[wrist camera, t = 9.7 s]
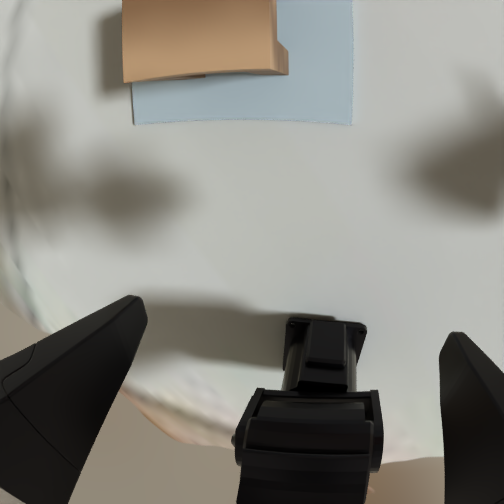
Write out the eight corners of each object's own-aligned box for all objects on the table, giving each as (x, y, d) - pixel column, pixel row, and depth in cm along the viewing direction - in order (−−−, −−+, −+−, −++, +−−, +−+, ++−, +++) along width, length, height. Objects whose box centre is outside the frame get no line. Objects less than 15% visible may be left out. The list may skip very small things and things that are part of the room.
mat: (350, 124, 17) (351, 125, 17) (137, 124, 20) (134, 124, 19) (347, -53, 11) (348, -55, 11) (134, -29, 14) (131, -31, 13)
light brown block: (288, 75, 16) (270, 68, 10) (183, 80, 17) (123, 82, 12) (286, -23, 13) (266, -69, 7) (181, -11, 14) (124, -39, 8)
